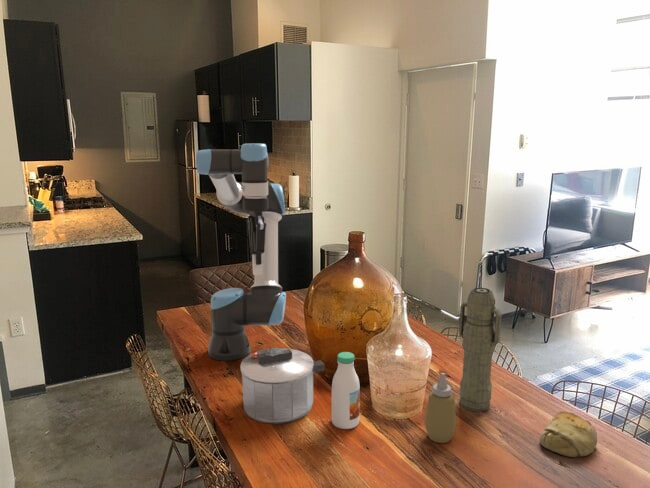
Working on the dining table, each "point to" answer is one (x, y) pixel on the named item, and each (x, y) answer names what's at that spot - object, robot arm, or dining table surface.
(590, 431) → the pastry
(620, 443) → the dining table surface
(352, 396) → the milk bottle
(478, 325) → the thermos
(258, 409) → the pot
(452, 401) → the squeeze bottle
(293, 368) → the lid
